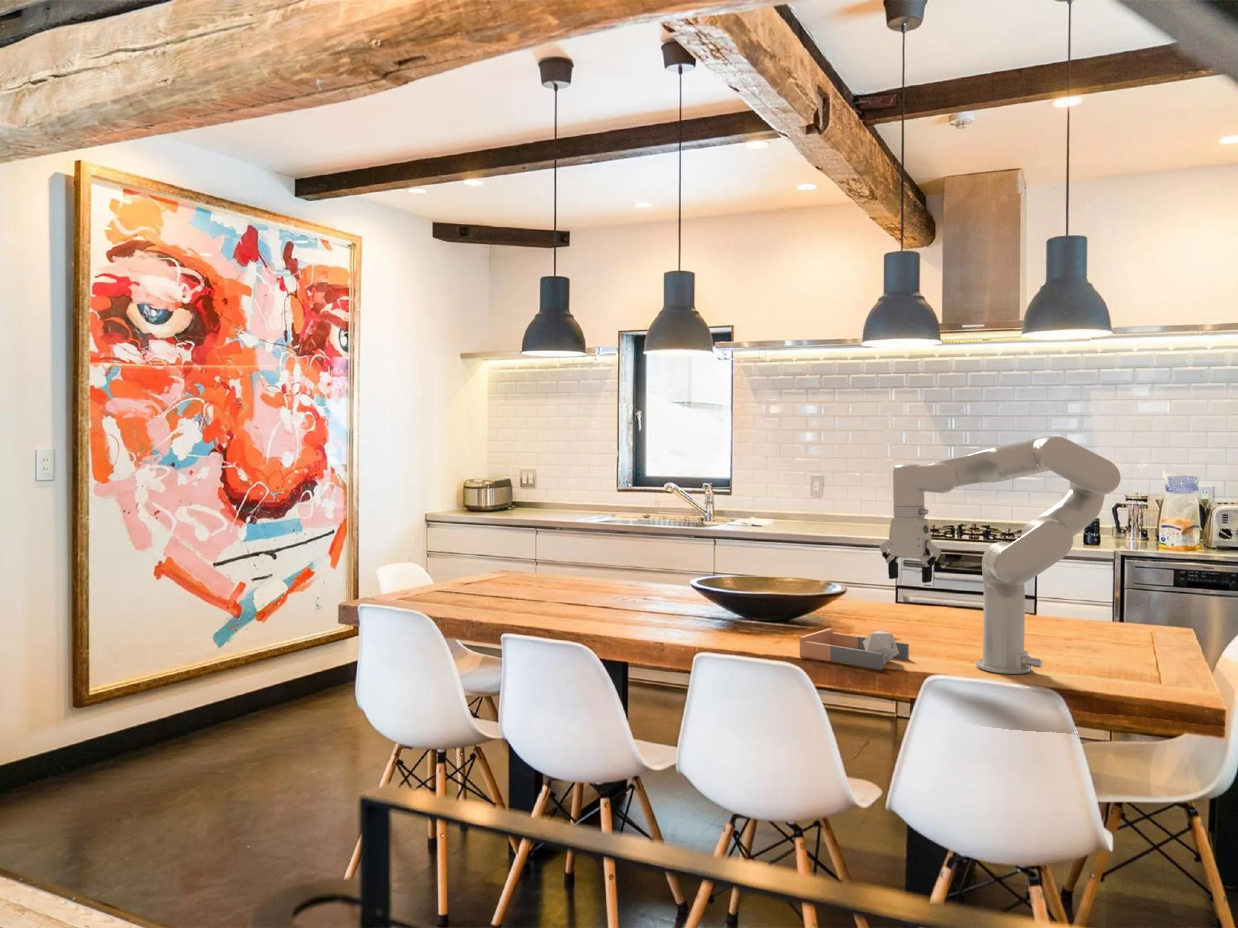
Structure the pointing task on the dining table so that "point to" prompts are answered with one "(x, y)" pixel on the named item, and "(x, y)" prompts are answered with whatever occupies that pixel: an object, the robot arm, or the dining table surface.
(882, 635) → the die
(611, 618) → the dining table surface
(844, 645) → the two-tone shallow tray
